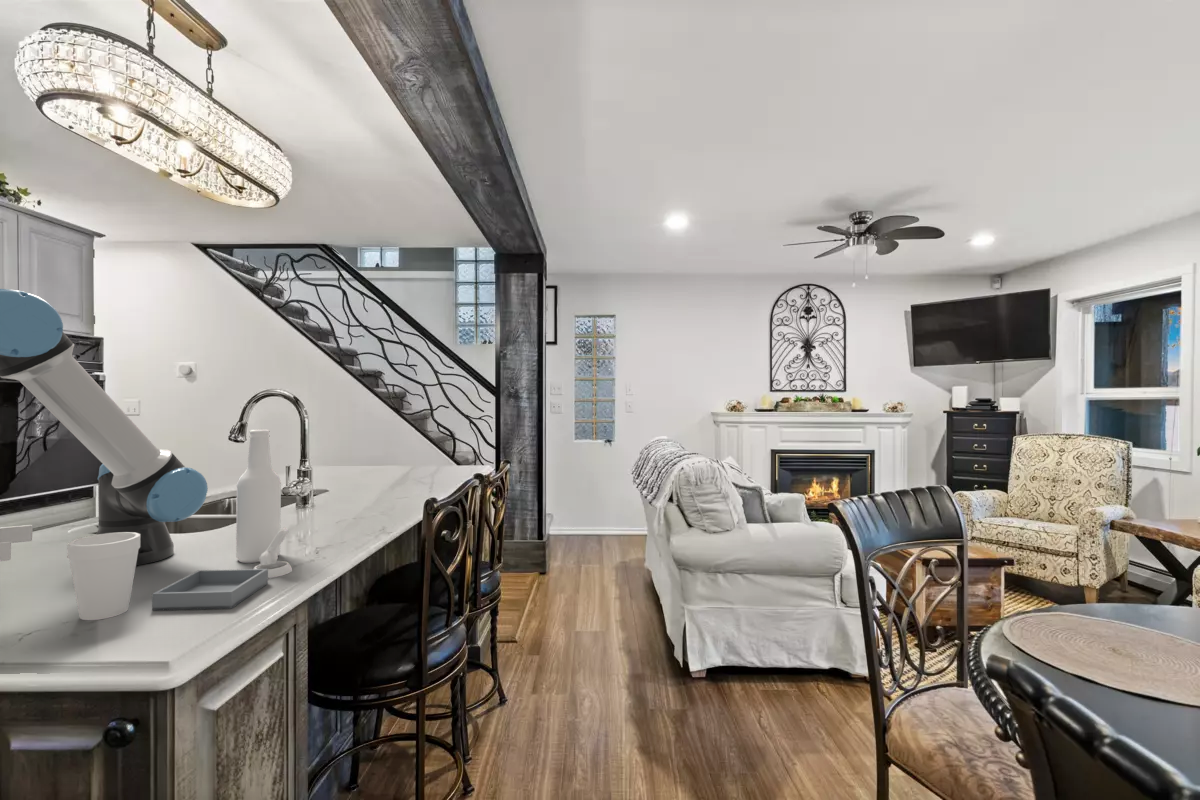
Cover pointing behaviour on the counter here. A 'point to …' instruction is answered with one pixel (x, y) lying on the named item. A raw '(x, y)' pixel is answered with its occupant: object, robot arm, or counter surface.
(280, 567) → the hook
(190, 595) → the tray
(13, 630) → the counter surface
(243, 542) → the alcohol
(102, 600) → the foam cup
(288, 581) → the counter surface
